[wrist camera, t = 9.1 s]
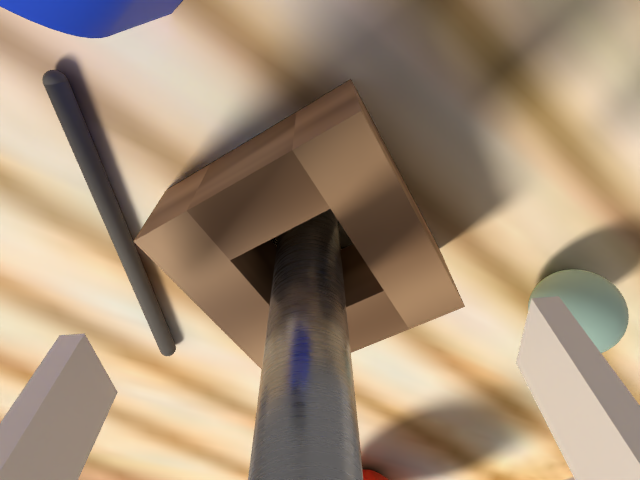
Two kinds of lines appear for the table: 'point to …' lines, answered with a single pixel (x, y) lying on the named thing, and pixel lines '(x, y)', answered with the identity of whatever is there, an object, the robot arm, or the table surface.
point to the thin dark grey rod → (106, 203)
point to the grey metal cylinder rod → (307, 364)
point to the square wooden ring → (294, 209)
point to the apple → (372, 475)
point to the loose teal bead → (589, 304)
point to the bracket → (91, 14)
